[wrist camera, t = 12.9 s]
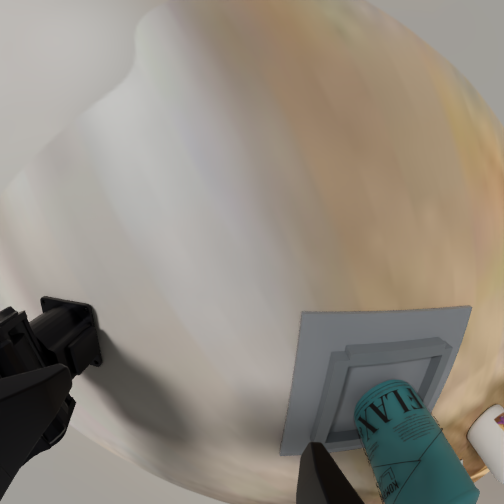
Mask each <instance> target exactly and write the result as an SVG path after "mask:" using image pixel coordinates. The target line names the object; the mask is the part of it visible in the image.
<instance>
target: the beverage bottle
mask: <svg viewBox="0 0 504 504" xmlns="http://www.w3.org/2000/svg"><path fill="white" fill-rule="evenodd" d="M411 385H412V384H411ZM411 385H410V383H409V384H408V383H407V382H405V381H403V380H389V381H386V382H383V383H381V384H379V385H377V386H375V387H373V388H372V389H370V390H369V391H368V392H367V393H365V394H364V395H363V396H362V398H361V399H360V400H359V401H358V403H357V405H356V407H355V410H354V417H353V419H354V420H355V421H354V422H355V423H356V426H357V428H358V430H357V429H356V431H358V432H359V434H358V436H359V439H360V437H361V439H362V442H363V444H364V447H365V450H366V452H367V455H366V453H365V455H366V456H367V457H368V458H367V460H370V463H371V466H372V468H373V471H374V474H375V477H376V480H377V483H378V485H379V486H377V484H376V486H377V487H379V489H380V491H381V494H382V497H381V496H380V497H381V498H383V499H384V500H383V502H385V504H476V502H477V500H478V497H479V494H480V491H479V490H478V489H477V488H476V487H475V485H474V483H473V481H472V480H471V478H470V476H469V475H468V473H467V471H466V470H465V468H464V466H463V465H462V463H461V462H460V460H459V458H458V457H457V455H456V454H455V452H454V450H453V449H452V447H451V446H450V444H449V443H448V441H447V439H446V438H445V436H444V434H443V432H442V430H443V428H440V427H439V426H440V425H439V426H438V424H437V423H438V422H437V423H436V421H437V420H436V418H435V420H436V421H435V420H434V418H433V417H435V416H433V417H432V415H431V414H432V412H431V414H430V412H429V411H431V410H429V408H428V409H427V408H426V406H427V405H426V406H425V405H424V404H423V402H422V401H423V400H422V401H421V399H420V398H422V397H420V398H419V396H418V395H417V393H416V392H415V390H414V389H413V388H414V387H413V388H412V386H411ZM418 394H419V393H418ZM424 403H425V402H424ZM428 410H429V411H428ZM354 422H353V423H354ZM355 423H354V425H355ZM441 429H442V430H441ZM358 432H357V433H358ZM361 439H360V442H361ZM361 444H362V443H361ZM362 447H363V445H362ZM363 450H364V448H363ZM364 452H365V451H364ZM368 463H369V461H368ZM369 465H370V464H369ZM373 477H374V475H373ZM377 489H378V488H377ZM378 492H379V491H378ZM381 501H382V500H381ZM383 502H382V504H383Z"/></svg>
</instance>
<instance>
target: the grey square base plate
mask: <svg viewBox="0 0 504 504" xmlns="http://www.w3.org/2000/svg"><path fill="white" fill-rule="evenodd" d="M471 310H472V307H471V306H470V305H468V306H457V307H445V308H431V309H414V310H392V311H355V312H303V311H302V312H301V321H300V329H299V337H298V344H297V352H296V359H295V366H294V373H293V379H292V385H291V392H290V398H289V404H288V409H287V415H286V421H285V426H284V431H283V437H282V442H281V447H280V452H279V455H280V456H292V455H302V453H303V451H304V450H305V448H306V446H307V445H308V443H309V442H311V441H313V442H321V443H322V444H323V445H324V446H325V448H326V449H327V451H328V452H329V453H331V452H339V451H346V450H353V449H359V448H365V447H364V444H363V442H362V439H361V437H360V439H361V442H360V439H359V436H358V434H359V432H358V431H356V429H357V430H358V428H357V426H356V423H355V422H354V421H355V420H354V419H353V417H354V410H355V407H356V405H357V403H358V401H359V400H360V399H361V398H362V396H363V395H364V394H365V393H367V392H368V391H369V390H370V389H372V388H373V387H375V386H377V385H379V384H381V383H383V382H386V381H389V380H403V381H405V382H407V383H408V384H409V383H410V385H411V384H412V385H411V386H412V388H413V387H414V388H413V389H414V390H415V392H416V393H417V395H418V396H419V398H420V397H422V398H420V399H421V401H422V400H423V401H422V402H423V404H424V405H425V406H426V405H427V406H426V408H427V409H428V408H429V410H431V411H429V410H428V411H429V412H430V413H431V412H432V410H433V408H434V406H435V404H436V402H437V400H438V398H439V396H440V394H441V391H442V389H443V387H444V385H445V383H446V380H447V378H448V376H449V373H450V371H451V369H452V366H453V364H454V361H455V359H456V356H457V353H458V351H459V348H460V345H461V342H462V339H463V336H464V333H465V330H466V327H467V324H468V320H469V317H470V313H471ZM418 393H419V394H418ZM424 402H425V403H424ZM353 422H354V423H355V425H354V423H353ZM357 432H358V433H357ZM361 443H362V444H361ZM362 445H363V447H362Z"/></svg>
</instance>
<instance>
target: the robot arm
mask: <svg viewBox="0 0 504 504" xmlns="http://www.w3.org/2000/svg"><path fill="white" fill-rule="evenodd" d="M40 301H41V306H42V311H43V314H41V315H40V316H38V317H36V318H35V319H33V320H32V321H30V322H28V319H27V315H26V312H25V310H24V311H22V312H19V313H18V311H15V310H14V309H13V308H12V307H11V306H10V307H7V308H6V309H4V310H2V311H0V501H1V499H2V497H3V495H4V494H5V492H6V490H7V489H8V487H9V485H10V484H11V482H12V480H13V479H14V477H15V475H16V474H17V472H18V471H19V469H20V468H21V466H23V465H24V464H25V463H26V462H28V461H29V460H30V459H31V458H32V457H34V456H35V455H37V454H39V453H40V452H43V451H45V450H48V449H50V448H51V447H52V446H54V445H55V444H57V443H58V442H59V441H60V440H61V439H62V438H63V436H64V435H65V433H66V430H67V427H68V424H69V421H70V418H71V416H72V413H73V410H74V407H75V404H76V402H75V400H74V399H73V397H71V396H70V394H69V391H70V390H71V388H72V379H73V378H74V377H75V376H76V375H80V374H81V373H82V372H83V371H84V370H85V368H86V367H87V366H88V365H93V366H97V367H99V366H101V364H102V358H101V354H100V348H99V343H98V339H97V334H96V329H95V325H94V320H93V314H92V309H91V307H90V305H89V304H86V303H80V302H74V301H69V300H63V299H57V298H52V297H47V296H44V297H42V298H41V300H40ZM85 308H86V309H87V311H86V309H85ZM97 361H98V362H97ZM296 504H365V503H364V502H363V501H362V499H361V498H360V497H359V495H358V494H357V492H356V491H355V490H354V488H353V487H352V485H351V484H350V483H349V481H348V480H347V478H346V477H345V476H344V474H343V473H342V471H341V470H340V468H339V467H338V466H337V464H336V463H335V461H334V460H333V458H332V457H331V455H330V454H329V452H328V451H327V449H326V448H325V446H324V445H323V444H322V443H321V442H313V441H311V442H309V443H308V445H307V446H306V448H305V450H304V451H303V453H302V455H301V459H300V468H299V476H298V484H297V493H296Z"/></svg>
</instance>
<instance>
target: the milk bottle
mask: <svg viewBox="0 0 504 504" xmlns="http://www.w3.org/2000/svg"><path fill="white" fill-rule="evenodd" d="M467 438H468V440H469V441H470V443H471V444H472V446H473V447H474V449H475V450H476V451H477V453H478V454H479V456H480V457H481V459H482V460H483V461H484V463H485V464H486V466H487V467H488V469H489V470H490V471H491V473H492V474H493V475H494V477H495V478H496V479H497V480H498V481H499V482H501V483H503V484H504V408H503V407H502V406H500V405H498V404H495V405H493V406H491V407H490V408H488V409H487V410H486V411H485V412H484V413H483V414H482V415H481V416H480V417H479V418H478V419H477V420H476V421H475V422H474V423H473V425H472V426H471V428H470V429H469V431H468V434H467Z"/></svg>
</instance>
